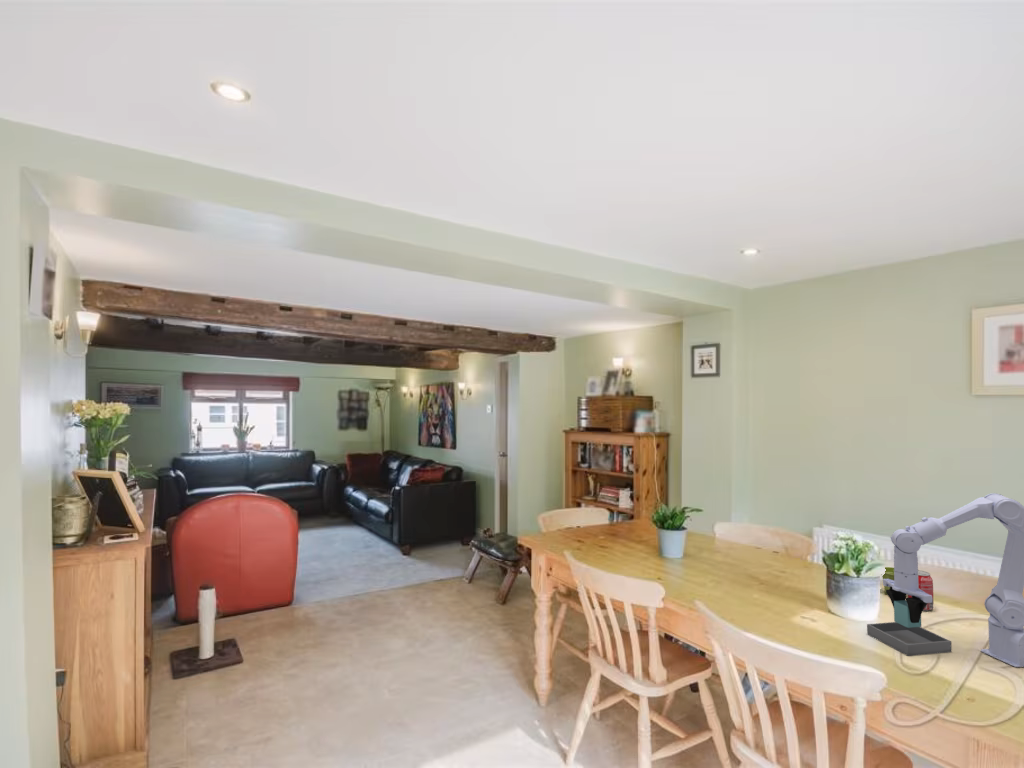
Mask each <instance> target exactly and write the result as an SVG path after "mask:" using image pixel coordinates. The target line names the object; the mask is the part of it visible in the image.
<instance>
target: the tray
mask: <svg viewBox="0 0 1024 768" xmlns="http://www.w3.org/2000/svg"><path fill="white" fill-rule="evenodd" d="M866 632H867V635H868V636H870V637H872V638H873V637H874V638H873V639H875V638H876V640H877V639H878V641H879V642H882V644H885V645H886V646H888V647H891V648H892V649H894V650H896V651H897V652H900V653H901V654H904V655H905V656H908V657H910V656H911V657H912V656H923V655H933V654H943V653H944V654H945V653H946V654H948V653H952V640H950V639H947V638H946V637H944V636H941V635H939V634H937V633H935V632H932V631H930V630H928V629H925V628H923V627H922V626H921V627H912V628H907V627H905V626H903V625H901V624H899V623H897V622H895V621H888V622H877V623H866Z"/></svg>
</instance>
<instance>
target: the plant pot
mask: <svg viewBox="0 0 1024 768" xmlns="http://www.w3.org/2000/svg"><path fill="white" fill-rule="evenodd" d="M884 567H885V569H886V571H885V574H884V575H883V576H882V575H881V578H882V580H883V579H891V580H894V566H891V567H890V566H884ZM883 588H884V594H885V595H887V596H888V594H887V593H886V590H889V589H890V587H888V586H884V585H883Z"/></svg>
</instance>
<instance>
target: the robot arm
mask: <svg viewBox="0 0 1024 768" xmlns="http://www.w3.org/2000/svg"><path fill="white" fill-rule="evenodd" d="M977 518H978V519H979V518H980V519H986V520H987V519H988V520H989V519H990V520H995V519H996V520H998V521H999V522H1000V524H1001V525H1003V527H1005V529H1006V530H1007V531H1008V533H1007V537H1006V541H1005V546H1004V550H1003V555H1002V560H1001V564H1000V570H999V574H998V578H997V584H996V585H994V587H992V588H991V592H990V594H989V596H987V597H986V598H985V600H984V608H985V610H986V611H987V612H988V613H989V617H988V618H987V621H988V623H987V624H988V648H981V649H980V652H981V653H984V654H986V655H988V656H991V657H993V658H995V659H997V660H999V661H1001V662H1003V663H1006V664H1007V665H1011V666H1012V667H1014V668H1022V667H1023V668H1024V595H1023V593H1024V505H1023V504H1022V503H1020V502H1019V501H1018V500H1016V499H1013V498H1009V497H1007V496H1005V495H1002V494H1001V493H997V492H996V493H995V492H991V493H988V494H986V495H984V497H983V496H981V497H976V499H974V500H972V501H971V502H969V503H966V504H965V505H962V506H961V507H959V508H956V509H954V510H953V511H951V512H949V513H947V514H945V515H943V516H941V517H939V518H938V517H933V516H930V517H927V516H923V517H922V518H921V519H920V520H921V521H919V522H916V523H914V524H912V525H910V526H909V525H906V526H904V528H900V529H899V528H898V529H896V530H895V531H894V532H893V533H892V534H891V536H890V541H891V543H892V544H893V568H894V580H891V579H883V578H882V585H883V587H884V586H888V587H890V589H889V590H886V593H887V594H888V595H887V594H886V593H885V594H886V595H887V596H888V598H889V599H890V602H891V604H892V606H893V609H894V601H900V600H906V601H907V604H908V607H909V613H910V621H911V622H912V623H919V620H920V617H921V618H922V614H923V612H924V611H923V609H924V608H925V606H926V605H927V604H928V603H932V596H931V595H929V594H927V593H926V592H924V591H922V590H921V589H919V586H918V570H919V558H918V551H920V549H921V547H922V546H924V545H926V544H928V543H930V542H933V541H936V540H938V539H940V538H943V537H944V536H947V535H946V534H947V531H948V529H951V528H954V527H957V526H959V525H961V524H965V523H967V522H970V521H972V520H974V519H977ZM907 594H908V595H910V596H912V598H911V597H910V598H908V597H907V596H908V595H907Z"/></svg>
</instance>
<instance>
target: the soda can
mask: <svg viewBox="0 0 1024 768" xmlns="http://www.w3.org/2000/svg"><path fill="white" fill-rule="evenodd" d="M933 581H934V580H933V577H931V573H930V572H928V571H924V570H919V569H918V586H919V589H921V590H922V591H924V592H926V593H927V594H929V595H931V596H932V603H928V604H927V605H926V606H925V608H924V609H923V611H922V612H928V611H931V610H933V609H934V582H933ZM906 596H907V598H910V597H911V598H912V596H910V595H908V594H907V595H906Z"/></svg>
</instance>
